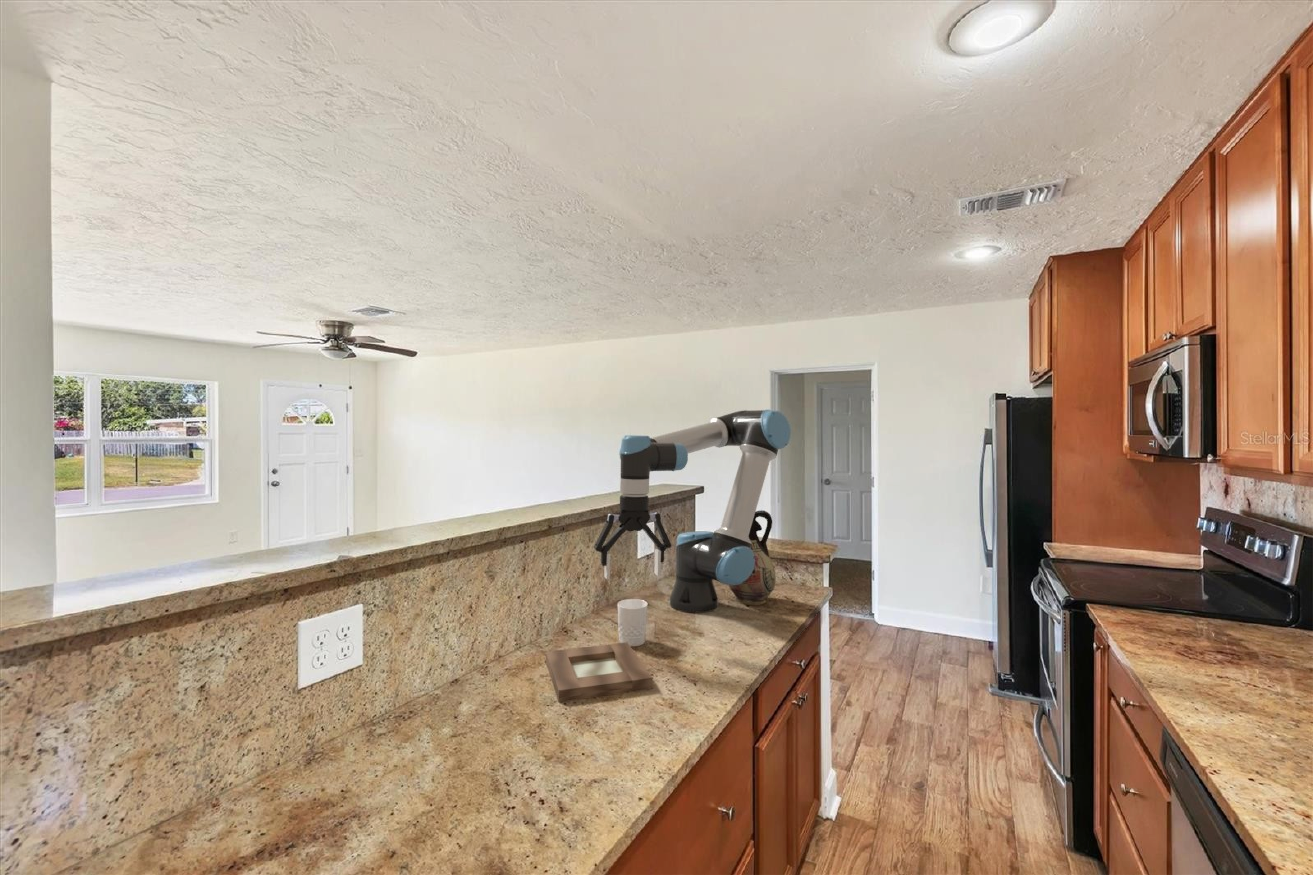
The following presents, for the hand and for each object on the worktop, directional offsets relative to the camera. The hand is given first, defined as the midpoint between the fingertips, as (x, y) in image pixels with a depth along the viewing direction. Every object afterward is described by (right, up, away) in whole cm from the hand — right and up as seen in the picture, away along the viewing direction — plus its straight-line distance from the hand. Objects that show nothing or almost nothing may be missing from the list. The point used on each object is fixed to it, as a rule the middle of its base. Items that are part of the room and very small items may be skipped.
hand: (632, 576), depth 143 cm
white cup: (0, -17, 0) cm, 17 cm away
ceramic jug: (+38, -17, +35) cm, 54 cm away
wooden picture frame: (-7, -17, -19) cm, 27 cm away
